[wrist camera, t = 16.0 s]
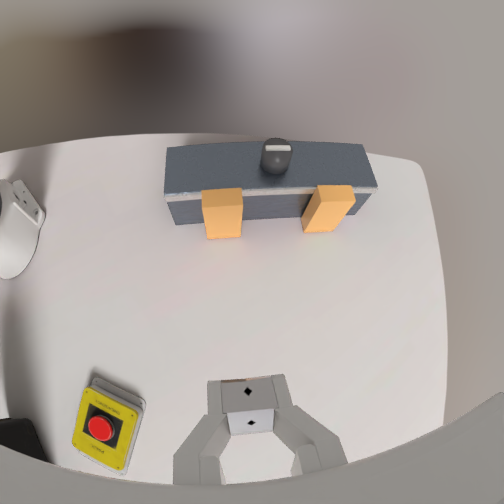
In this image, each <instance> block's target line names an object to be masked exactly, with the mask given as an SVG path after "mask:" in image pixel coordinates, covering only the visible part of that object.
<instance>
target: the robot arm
mask: <svg viewBox="0 0 504 504" xmlns="http://www.w3.org/2000/svg"><path fill="white" fill-rule="evenodd" d="M44 219H45V213H44V211H43V210H42V208H41V207H40V206H39V204H38V203H37V201H36V200H35V199H34V197H33V196H32V194H31V193H30V191H29V190H28V188H27V187H26V185H25V184H24V182H23V181H22V180H16V181H14V182H12V183H11V184H10V183H9V182H8V181H7V180H6V179H1V180H0V277H1V278H3V279H11V278H14V277H16V276H17V275H19V274H20V273H21V272H22V271H23V270H24V269H25V268H26V266H27V265H28V263H29V262H30V260H31V258H32V256H33V254H34V251H35V248H36V245H37V241H38V235H39V230H40V228H41V225H42V223H43V221H44ZM207 396H208V415H204V416H203V417H202V419H201V420H200V421H199V423H198V424H197V425H196V427H195V428H194V429H193V431H192V432H191V433H190V435H189V436H188V437H187V439H186V440H185V441H184V442H183V444H182V445H181V446H180V448H179V449H178V450H177V451H176V453H175V454H174V459H173V484H157V483H146V482H137V481H129V480H121V479H115V478H109V477H103V476H98V475H93V474H89V473H84V472H80V471H76V470H72V469H68V468H64V467H61V466H57V465H54V464H50V463H47V462H44V461H41V460H38V459H35V458H32V457H29V456H27V455H24V454H21V453H19V452H16V451H14V450H11V449H9V448H7V447H5V446H2V445H0V504H504V393H503V392H500V393H497V394H495V395H494V396H492V397H491V398H489V399H488V400H486V401H485V402H483V403H482V404H480V405H478V406H477V407H475V408H473V409H472V410H470V411H469V412H467V413H465V414H464V415H462V416H460V417H458V418H457V419H455V420H453V421H451V422H449V423H447V424H445V425H443V426H441V427H439V428H437V429H435V430H433V431H431V432H429V433H427V434H425V435H423V436H421V437H419V438H416V439H414V440H412V441H409V442H407V443H405V444H402V445H400V446H397V447H395V448H392V449H390V450H387V451H384V452H382V453H379V454H376V455H373V456H370V457H367V458H364V459H361V460H358V461H355V462H351V463H348V462H347V459H346V456H345V453H344V451H343V448H342V445H341V442H340V440H339V437H338V436H337V435H335V434H334V433H332V432H331V431H330V430H328V429H327V428H326V427H324V426H323V425H322V424H320V423H319V422H318V421H316V420H315V419H314V418H312V417H311V416H310V415H309V414H307V413H306V412H305V411H303V410H302V409H301V408H300V407H298V406H297V405H295V406H293V404H292V400H291V396H290V393H289V389H288V386H287V382H286V379H285V376H284V374H279V375H271V376H270V375H269V376H261V377H253V378H246V379H235V380H216V381H208V383H207ZM271 431H273V433H274V434H275V435H276V436H277V437H278V438H279V439H280V440H281V441H282V442H283V443H284V444H285V445H286V446H287V447H288V448H289V449H290V450H291V451H292V452H293V453H295V454H296V455H295V458H294V462H293V465H292V468H291V474H292V477H286V478H280V479H274V480H266V481H258V482H248V483H237V484H226V479H225V476H224V473H223V470H222V467H221V464H220V460H219V457H220V456H221V454H222V452H223V450H224V449H225V447H226V445H227V443H228V442H229V440H230V438H231V436H233V435H243V434H251V433H262V432H271Z"/></svg>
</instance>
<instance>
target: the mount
mask: <svg viewBox="0 0 504 504" xmlns="http://www.w3.org/2000/svg"><path fill="white" fill-rule="evenodd" d="M264 142H265V141H263V142H232V143H215V144H201V145H189V146H178V147H169V148H167V155H166V168H165V183H164V199H165V201H166V202H167V204H168V206H169V209H170V212H171V214H172V217H173V219H174V222H175V224H176V225H183V224H196V223H205V222H204V217H203V211H202V193H201V190H212V189H227V188H241V189H242V198H243V212H242V220H254V219H271V218H290V217H302V216H303V214H304V212H305V210H306V208H307V206H308V204H309V202H310V200H311V198H312V196H313V194H314V192H315V190H316V187H317V185H351V186H352V189H353V193H354V196H355V200H356V202H355V203H354V204H353V206H352V207H351V208H350V210H349V211H348V212H347V213H346V215H355V214H356V212H357V211H358V210H359V209H360V208H361V206H362V205H363V204H364V203H365V202H366V200H367V199H368V198H369V197H370V195H371V194H372V193H375V192H376V191H377V190H378V188H377V187H378V186H377V183H376V180H375V177H374V174H373V171H372V169H371V166H370V163H369V160H368V158H367V155H366V153H365V150H364V148H363V145H361V144H348V143H330V142H300V141H287V142H288V143H290V145H291V146H292V148H293V154H292V157H291V161H290V164H289V167H288V169H287V170H286V171H285V172H284V173H281V174H271V173H268V172H267V171H265V170H264V169H263V168H262V166H261V164H260V159H261V153H262V147H263V144H264Z"/></svg>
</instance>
